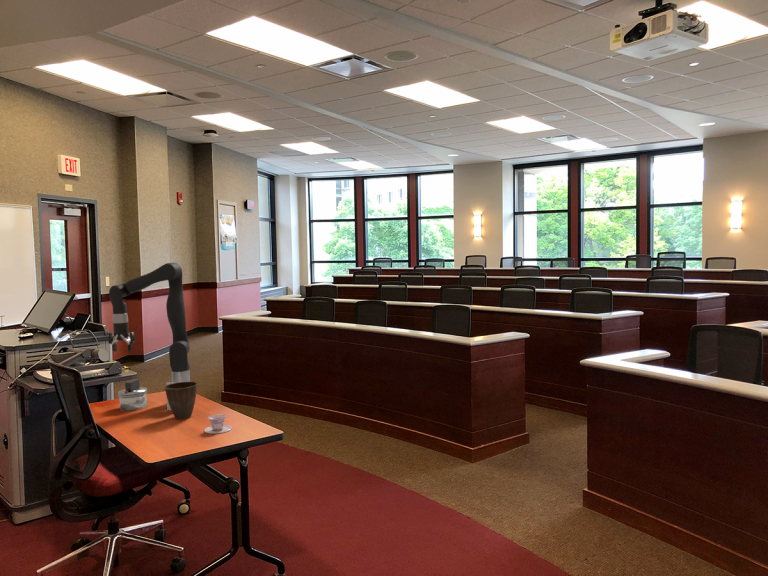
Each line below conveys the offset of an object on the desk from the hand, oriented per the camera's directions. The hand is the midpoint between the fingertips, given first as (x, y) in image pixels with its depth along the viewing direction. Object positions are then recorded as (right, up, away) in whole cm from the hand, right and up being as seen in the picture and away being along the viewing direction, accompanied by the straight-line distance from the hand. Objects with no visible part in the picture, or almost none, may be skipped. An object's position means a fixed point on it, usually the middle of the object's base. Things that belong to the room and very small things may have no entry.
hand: (122, 351), depth 312 cm
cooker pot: (+10, -29, -10) cm, 32 cm away
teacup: (+67, -30, -53) cm, 91 cm away
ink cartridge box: (+36, -28, -16) cm, 48 cm away
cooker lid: (+10, -21, -10) cm, 25 cm away
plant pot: (+44, -29, -31) cm, 61 cm away
